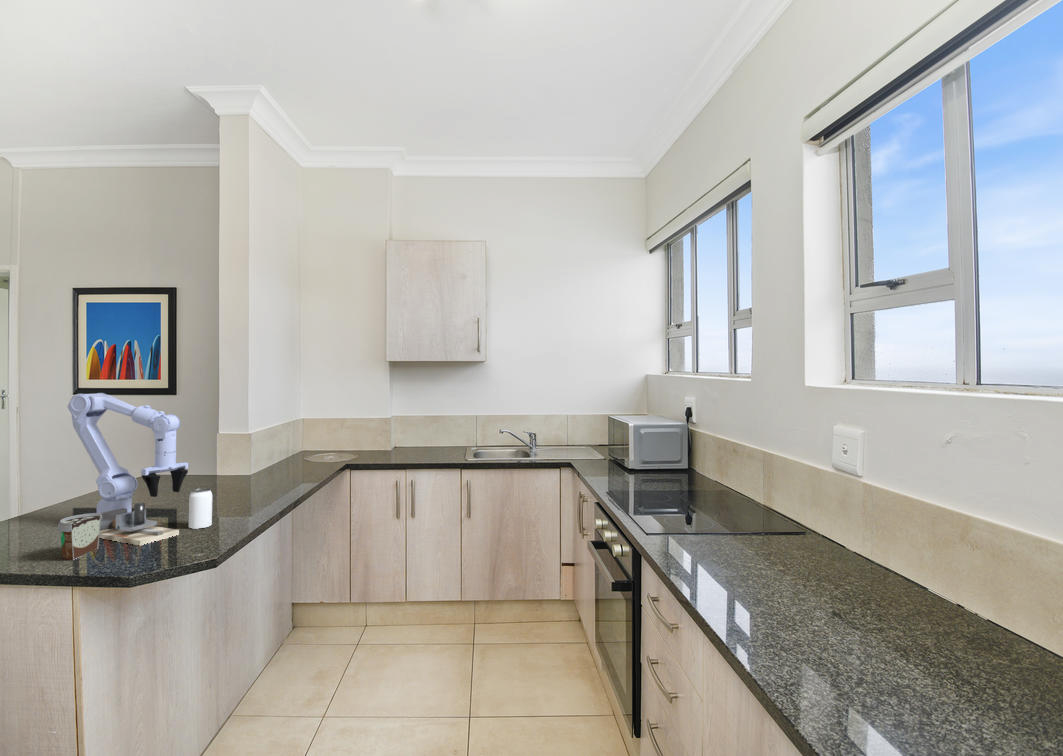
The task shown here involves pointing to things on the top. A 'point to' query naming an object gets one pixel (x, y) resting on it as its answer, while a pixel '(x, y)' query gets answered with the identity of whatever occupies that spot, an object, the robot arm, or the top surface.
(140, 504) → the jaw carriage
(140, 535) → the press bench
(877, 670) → the top surface
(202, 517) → the can
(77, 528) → the food container
